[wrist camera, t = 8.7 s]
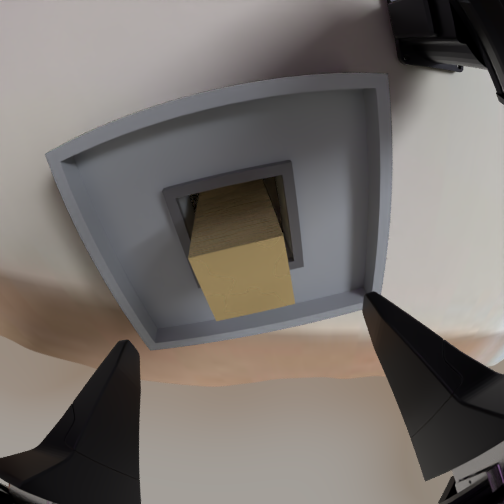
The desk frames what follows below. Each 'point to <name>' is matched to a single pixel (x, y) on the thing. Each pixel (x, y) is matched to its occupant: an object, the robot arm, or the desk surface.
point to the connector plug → (240, 251)
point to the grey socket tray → (229, 173)
